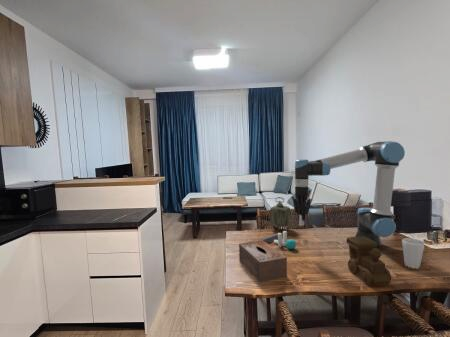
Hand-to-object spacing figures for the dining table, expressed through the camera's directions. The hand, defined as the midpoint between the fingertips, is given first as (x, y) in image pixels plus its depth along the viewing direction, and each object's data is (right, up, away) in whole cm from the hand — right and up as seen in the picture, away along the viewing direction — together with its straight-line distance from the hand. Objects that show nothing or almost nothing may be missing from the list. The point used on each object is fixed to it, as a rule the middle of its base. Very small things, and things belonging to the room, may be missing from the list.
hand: (301, 225), depth 153 cm
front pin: (-7, -15, +10) cm, 19 cm away
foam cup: (+52, -17, -19) cm, 58 cm away
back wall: (-15, -15, +21) cm, 30 cm away
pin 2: (-7, -16, +14) cm, 22 cm away
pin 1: (-11, -16, +11) cm, 22 cm away
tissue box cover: (-26, -19, -17) cm, 37 cm away
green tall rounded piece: (-4, -13, +44) cm, 46 cm away
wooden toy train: (+23, -19, -29) cm, 42 cm away
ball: (-5, -13, +6) cm, 15 cm away
